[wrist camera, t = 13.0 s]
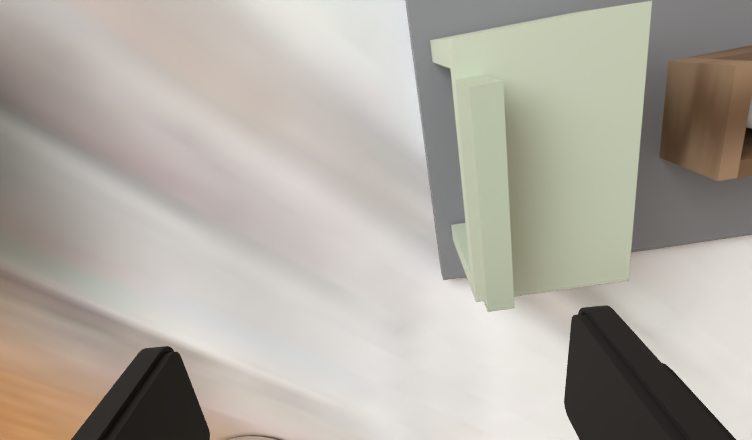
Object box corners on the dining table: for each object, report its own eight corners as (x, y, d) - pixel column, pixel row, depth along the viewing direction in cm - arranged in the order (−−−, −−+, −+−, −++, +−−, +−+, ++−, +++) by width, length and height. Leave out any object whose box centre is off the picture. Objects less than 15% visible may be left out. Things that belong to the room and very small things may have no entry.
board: (766, 223, 30) (840, 257, 25) (441, 271, 32) (452, 312, 27) (842, -110, 22) (972, -152, 17) (402, -20, 24) (409, -35, 19)
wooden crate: (755, 140, 26) (836, 161, 22) (659, 157, 27) (717, 181, 22) (774, 40, 24) (869, 40, 19) (668, 61, 24) (736, 65, 20)
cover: (567, 222, 28) (665, 315, 19) (452, 240, 29) (490, 339, 19) (570, 13, 23) (708, -8, 13) (430, 40, 24) (465, 39, 14)
